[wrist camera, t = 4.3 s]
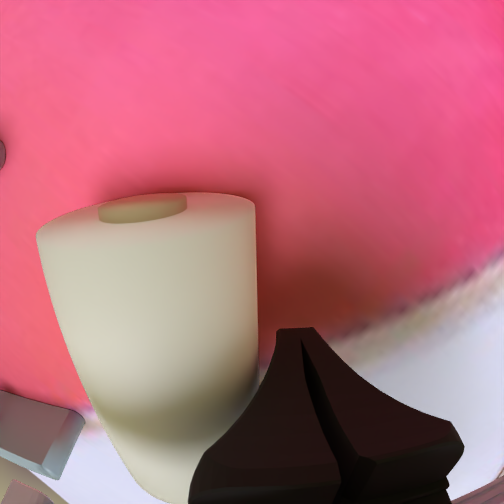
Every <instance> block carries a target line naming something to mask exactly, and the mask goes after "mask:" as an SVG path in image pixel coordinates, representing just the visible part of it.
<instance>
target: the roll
mask: <svg viewBox="0 0 504 504" xmlns="http://www.w3.org/2000/svg"><path fill="white" fill-rule="evenodd" d="M36 241H37V246H38V250H39V255H40V259H41V264H42V268H43V272H44V276H45V279H46V283H47V287H48V290H49V294H50V297H51V301H52V304H53V307H54V311H55V314H56V317H57V320H58V323H59V326H60V329H61V332H62V334H63V337H64V340H65V343H66V345H67V348H68V351H69V353H70V356H71V358H72V361H73V363H74V366H75V368H76V371H77V373H78V375H79V378H80V380H81V382H82V385H83V387H84V389H85V391H86V393H87V396H88V398H89V400H90V402H91V404H92V406H93V408H94V410H95V412H96V414H97V416H98V418H99V420H100V422H101V424H102V426H103V428H104V430H105V432H106V433H107V435H108V437H109V439H110V441H111V442H112V444H113V446H114V448H115V449H116V451H117V453H118V454H119V456H120V458H121V460H122V461H123V463H124V464H125V466H126V468H127V469H128V471H129V472H130V474H131V475H132V477H133V478H134V480H135V481H136V483H137V484H138V485H139V486H140V487H141V488H142V489H143V490H145V491H146V492H147V493H148V494H150V495H152V496H153V497H155V498H157V499H159V500H162V501H164V502H167V503H171V504H188V495H189V488H190V483H191V480H192V477H193V474H194V472H195V469H196V467H197V465H198V463H199V461H200V459H201V457H202V455H203V453H204V452H205V451H206V450H207V449H208V448H209V447H211V446H212V445H213V444H214V443H215V442H216V441H217V440H218V439H219V438H221V437H222V436H223V435H224V434H225V433H226V432H227V430H228V429H229V428H230V427H231V426H232V425H233V424H234V423H235V421H236V420H237V419H238V418H239V417H240V415H241V414H242V413H243V412H244V410H245V409H246V407H247V406H248V405H249V403H250V402H251V400H252V399H253V397H254V395H255V394H256V392H257V390H258V389H259V356H258V306H257V261H256V217H255V205H254V203H253V202H252V201H250V200H248V199H246V198H243V197H239V196H235V195H229V194H221V193H208V192H184V193H156V194H145V195H137V196H131V197H126V198H121V199H117V200H113V201H108V202H104V203H100V204H95V205H92V206H88V207H85V208H81V209H78V210H75V211H72V212H69V213H67V214H64V215H62V216H60V217H57V218H55V219H53V220H51V221H50V222H48V223H46V224H45V225H43V226H42V227H41V228H40V229H39V230H38V231H37V233H36Z"/></svg>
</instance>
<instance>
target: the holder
mask: <svg viewBox="0 0 504 504" xmlns="http://www.w3.org/2000/svg"><path fill="white" fill-rule="evenodd" d="M5 155H6V153H5V147H4V145H3V143H2V142H1V141H0V169H1V168H2V167H3V165H4V162H5ZM84 424H85V421H84V419H83V417H82V416H81V415H79V414H78V413H77V412H75V411H72V410H69V409H65V408H60V407H56V406H52V405H48V404H45V403H41V402H37V401H34V400H30V399H27V398H24V397H20V396H17V395H14V394H11V393H8V392H5V391H2V390H0V456H1V457H3V458H5V459H7V460H9V461H11V462H14V463H16V464H18V465H20V466H22V467H24V468H27V469H29V470H31V471H34V472H36V473H39V474H41V475H44V476H46V477H49V478H52V479H55V480H59V479H60V477H61V474H62V472H63V470H64V468H65V465H66V463H67V461H68V459H69V456H70V454H71V452H72V450H73V448H74V445H75V443H76V441H77V439H78V437H79V435H80V433H81V430H82V428H83V426H84Z"/></svg>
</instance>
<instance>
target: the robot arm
mask: <svg viewBox="0 0 504 504" xmlns="http://www.w3.org/2000/svg"><path fill="white" fill-rule="evenodd" d="M464 447H465V446H464V444H463V442H462V440H461V438H460V436H459V434H458V433H457V431H456V429H455V428H454V426H453V425H452V423H451V422H450V421H447V420H444V419H441V418H438V417H434V416H431V415H428V414H425V413H423V412H421V411H418V410H416V409H414V408H411V407H409V406H407V405H405V404H403V403H401V402H399V401H397V400H395V399H394V398H392V397H390V396H388V395H387V394H385V393H383V392H382V391H380V390H379V389H377V388H376V387H374V386H373V385H371V384H370V383H369V382H367V381H366V380H364V379H363V378H362V377H361V376H359V375H358V374H357V373H356V372H355V371H354V370H352V369H351V368H350V367H349V366H348V365H347V364H346V363H345V362H344V361H343V360H342V359H341V358H340V357H339V356H338V355H337V354H336V353H335V352H334V351H333V350H332V349H331V348H330V346H329V345H328V344H327V343H326V342H325V341H324V340H323V338H322V337H321V336H320V335H319V334H318V332H317V331H316V330H315V329H314V328H313V327H310V328H288V329H279V330H278V331H277V332H276V346H275V350H274V354H273V357H272V360H271V363H270V365H269V368H268V370H267V372H266V375H265V377H264V379H263V381H262V383H261V385H260V387H259V389H258V390H257V392H256V394H255V395H254V397H253V399H252V400H251V402H250V403H249V405H248V406H247V407H246V409H245V410H244V412H243V413H242V414H241V415H240V417H239V418H238V419H237V420H236V421H235V423H234V424H233V425H232V426H231V427H230V428H229V429H228V430H227V432H226V433H225V434H224V435H223V436H222V437H221V438H219V439H218V440H217V441H216V442H215V443H214V444H213V445H212V446H211V447H209V448H208V449H207V450H206V451H205V452H204V453H203V455H202V457H201V459H200V461H199V463H198V465H197V467H196V469H195V472H194V474H193V477H192V480H191V483H190V488H189V495H188V504H504V476H502V477H500V478H498V479H496V480H494V481H492V482H491V483H489V484H487V485H485V486H483V487H481V488H479V489H477V490H474V491H472V492H470V493H468V494H466V495H464V496H461V497H459V498H457V499H454V500H452V501H450V498H449V496H448V493H447V491H446V489H447V488H448V487H449V482H448V480H447V477H446V476H447V475H448V474H449V472H450V471H451V470H452V469H453V467H454V466H455V465H456V463H457V462H458V461H459V459H460V458H461V456H462V454H463V452H464ZM1 504H54V503H53V501H52V500H51V499H50V498H48V497H47V496H46V495H45V494H43V493H42V492H40V491H38V490H36V489H34V488H32V487H29V486H27V485H25V484H23V483H21V482H19V481H17V480H12V482H11V483H10V485H9V487H8V489H7V492H6V494H5V496H4V498H3V500H2V502H1Z"/></svg>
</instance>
